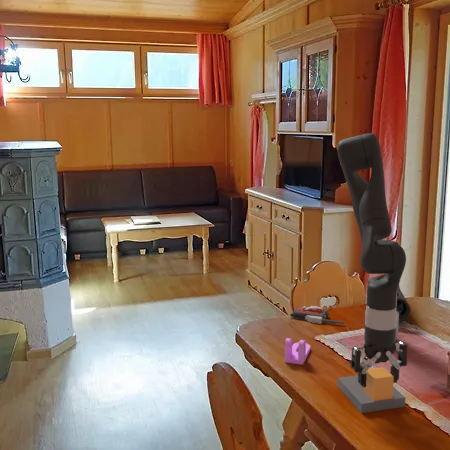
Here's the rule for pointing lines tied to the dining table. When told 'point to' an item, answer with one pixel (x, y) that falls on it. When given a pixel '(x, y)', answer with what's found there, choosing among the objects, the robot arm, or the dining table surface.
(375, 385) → the orange wooden cube
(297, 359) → the bracket
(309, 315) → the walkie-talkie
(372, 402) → the mounting plate
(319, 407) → the dining table surface
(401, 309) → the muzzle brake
